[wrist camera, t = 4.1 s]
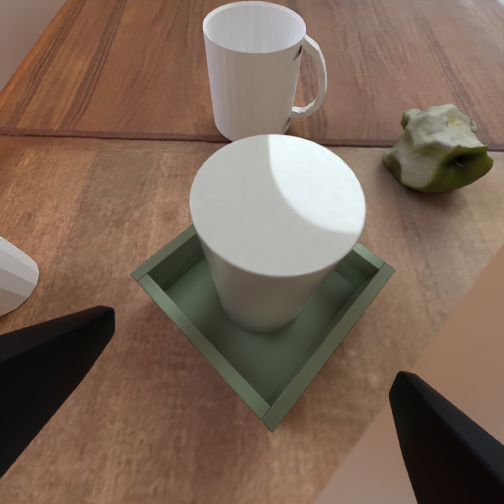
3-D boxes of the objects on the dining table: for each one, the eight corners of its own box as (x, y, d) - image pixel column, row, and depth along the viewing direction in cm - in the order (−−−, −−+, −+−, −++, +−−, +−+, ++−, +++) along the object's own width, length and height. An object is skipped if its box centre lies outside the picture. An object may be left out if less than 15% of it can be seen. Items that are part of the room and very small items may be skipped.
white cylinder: (320, 288, 21) (400, 193, 10) (264, 353, 18) (288, 321, 8) (259, 238, 23) (270, 112, 12) (201, 291, 20) (151, 195, 10)
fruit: (442, 226, 26) (498, 177, 19) (358, 186, 29) (378, 130, 22) (482, 162, 28) (549, 95, 20) (399, 131, 31) (430, 62, 24)
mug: (201, 134, 29) (184, 38, 21) (232, 90, 33) (228, -6, 25) (300, 164, 28) (324, 72, 19) (321, 114, 32) (348, 19, 23)
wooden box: (366, 291, 21) (396, 269, 17) (266, 419, 17) (272, 433, 13) (257, 205, 25) (259, 170, 21) (153, 294, 21) (129, 273, 17)
